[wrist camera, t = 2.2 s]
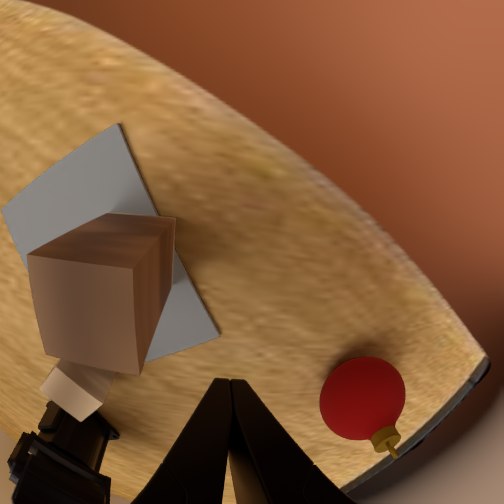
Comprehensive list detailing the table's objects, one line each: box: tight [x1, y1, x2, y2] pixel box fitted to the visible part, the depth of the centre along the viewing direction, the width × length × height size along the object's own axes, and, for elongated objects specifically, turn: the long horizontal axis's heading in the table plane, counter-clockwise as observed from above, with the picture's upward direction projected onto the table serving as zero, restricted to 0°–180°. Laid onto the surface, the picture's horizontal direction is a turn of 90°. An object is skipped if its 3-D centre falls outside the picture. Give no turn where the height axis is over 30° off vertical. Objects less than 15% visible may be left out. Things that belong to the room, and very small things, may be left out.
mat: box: [1, 123, 220, 363], centre depth 18 cm, size 16×12×1 cm
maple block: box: [39, 358, 116, 422], centre depth 17 cm, size 4×4×5 cm
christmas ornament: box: [320, 357, 405, 458], centre depth 18 cm, size 7×7×10 cm
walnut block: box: [26, 212, 176, 376], centre depth 13 cm, size 4×4×9 cm
